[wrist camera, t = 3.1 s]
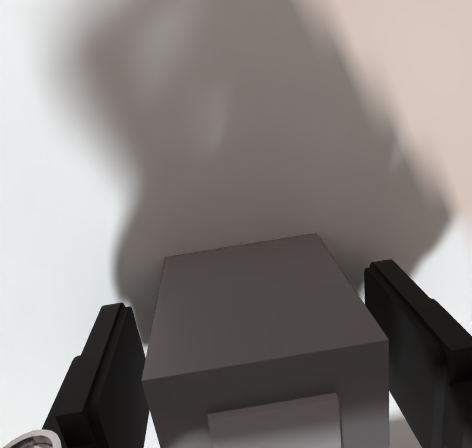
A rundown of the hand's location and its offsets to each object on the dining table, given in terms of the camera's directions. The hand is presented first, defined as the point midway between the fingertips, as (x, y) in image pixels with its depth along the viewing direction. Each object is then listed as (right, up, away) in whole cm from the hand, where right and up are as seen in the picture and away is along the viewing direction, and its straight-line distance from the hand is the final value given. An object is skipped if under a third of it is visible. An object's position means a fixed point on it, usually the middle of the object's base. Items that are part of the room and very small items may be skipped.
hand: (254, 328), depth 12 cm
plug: (0, 0, +1) cm, 1 cm away
